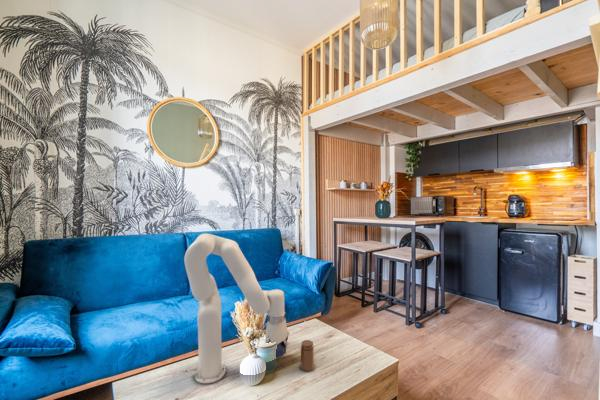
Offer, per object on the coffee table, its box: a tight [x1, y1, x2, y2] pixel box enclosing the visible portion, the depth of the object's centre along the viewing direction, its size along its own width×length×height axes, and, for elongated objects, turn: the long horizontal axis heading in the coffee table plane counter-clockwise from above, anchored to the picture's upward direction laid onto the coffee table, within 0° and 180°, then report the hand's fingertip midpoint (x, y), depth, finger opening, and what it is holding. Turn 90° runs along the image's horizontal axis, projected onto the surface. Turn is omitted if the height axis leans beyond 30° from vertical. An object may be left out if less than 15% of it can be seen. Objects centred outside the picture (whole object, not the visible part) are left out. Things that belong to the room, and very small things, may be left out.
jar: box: [300, 339, 315, 372], centre depth 124 cm, size 6×6×11 cm
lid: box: [275, 344, 286, 358], centre depth 127 cm, size 7×7×2 cm
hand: (277, 355), depth 127 cm, fingers closed on lid, 6 cm apart
